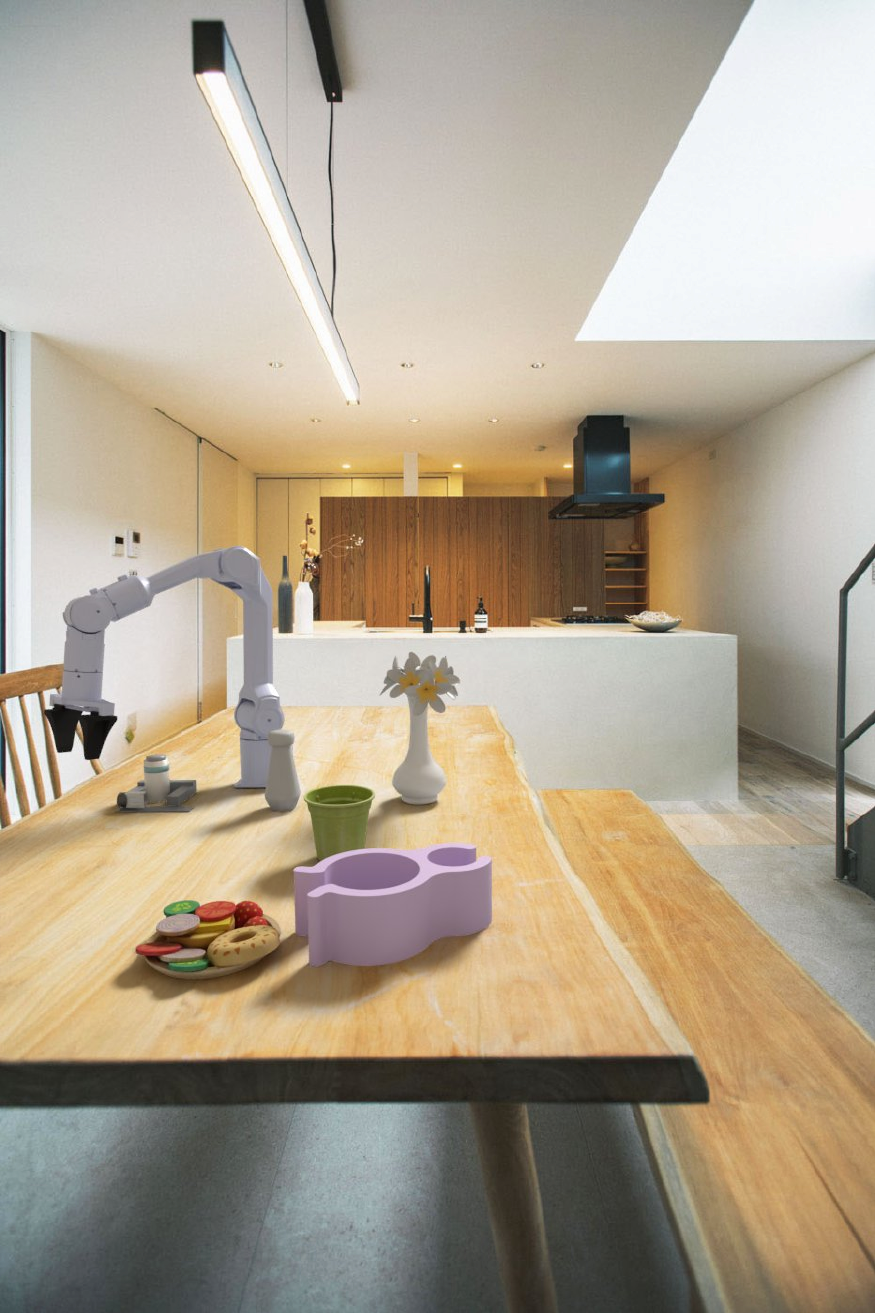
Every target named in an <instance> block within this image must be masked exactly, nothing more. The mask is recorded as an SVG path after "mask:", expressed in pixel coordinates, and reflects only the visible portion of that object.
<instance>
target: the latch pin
mask: <svg viewBox="0 0 875 1313" xmlns="http://www.w3.org/2000/svg"><path fill="white" fill-rule="evenodd" d="M116 804H117V807H118V808H122V807H126V808H145V807H146V806H148V802H147V791H136V792H128V791H125V792H123V791H121V792H119V793H118V795H117V797H116Z"/></svg>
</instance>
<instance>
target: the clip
mask: <svg viewBox="0 0 875 1313" xmlns="http://www.w3.org/2000/svg"><path fill="white" fill-rule="evenodd" d="M492 864H493V858H492V857H491V856H488V855H482V856H479V857H478V859H477V846H476V845H475V844H470V843H462V842H444V843H437V844H432V845H428V846H426V847H421V848H417V849H398V848H387V847H386V848H385V847H374V848H373V847H371V848H370V847H369V848H364V849H359V850H352V851H347V852H343V853H339V854H336V855H333V856H330V857H328V858H326V859H324V860H322V861H319V862H317V863H316V864H315V865H314V866H303V865H301V866H296V867H295V868H294V869H293V889H294V890H293V891H294V893H293V894H294V897H293V898H294V924H295V925H294V928H295V929H294V931H295V932H294V933H295V935H296V936H301V937H308V938H307V939H308V964H309V966H311V967H315V968H317V967H318V968H319V967H322V966H323V965H324V964H326V963H327V962H331V961H333V962H336V963H340V964H345V965H349V966H359V967H360V966H362V967H365V966H366V967H374V966H384V965H390V964H395V963H399V962H402V961H405V960H407V959H410V958H412V957H414V956H417V955H418V954H420V953H421V952H423V951H424V950H426V949H427V948H428V947H429V946H430V945H431V944H432V943H433V942H435V941H437V940H439V939H443V938H447V937H462V936H470V935H473V934H476V933H479V932H482V931H484V930H485V929H487V928H488V927H489V926H490V925H491V924H492V922H493V865H492Z"/></svg>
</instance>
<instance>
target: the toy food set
mask: <svg viewBox="0 0 875 1313" xmlns="http://www.w3.org/2000/svg"><path fill="white" fill-rule="evenodd" d="M162 912H163V914H164V915H163V916H165V918H163V919H161V920H159V921H158V922H157V923H156V926H155V933H153V934H152V935H151V936H150V937H149V938H148V939H147V940H146V942H145V943H142V944H138V945H137V946H136V947H135V954H137V955H140V956H143V958H144V959H145V961H146V963H147V964H148V965H149V966H150V967H152V968H153V969H154V970H156V971H158V972H159V973H161V974H162V975H166V976H168V977H172V978H174V979H175V978H176V979H181V980H182V979H183V980H202V979H203V980H205V979H206V980H207V979H213V978H219V977H223V976H228V975H230V974H231V975H232V974H234V973H237V972H240V971H242V970H245V969H247V968H250V967H251V966H253V965H254V964H255V965H256V964H257V963H258V962H259V961H261V960H262V959H264V958H265V956H267V955H268V954H270V953H272V952H273V951H275V950H276V949H278V947H279V945H280V943H281V939H280V937H281V934H282V933H281V932H282V931H281V929H282V928H281V926H280V924H279V922H278V921H277V920H276V919H274V917H272V916H270V915H268V914H265V913H264V911H263V909H262V907H261V906H260V905H259V904H257V903H256V902H254V901H251V900H241V901H240V902H238V903H237V904H236V903H235V901H234V900H233V901H226V900H216V901H211V902H207V903H204V904H202V905H200V903H199V901H196V900H191V899H188V900H187V899H186V900H179V901H175V902H172V903H169V904H168V905H166V906H165V907H164V908H163V911H162Z"/></svg>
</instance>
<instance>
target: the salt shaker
mask: <svg viewBox="0 0 875 1313" xmlns="http://www.w3.org/2000/svg"><path fill="white" fill-rule="evenodd" d="M294 742H295V733H294V732H293V731H292V730H290V729H285V728H282V729H280V730H274V731H271V732H270V733H269V734H268V745H270V746H272V749H271V757H270V764H269V771H268V778H267V784H266V787H265V791H264V798H265V801H266V803H267V804H268V806H269V808H270V809H271V811H272V812H277V813H284V812H290V811H293V810H294V809H296V807H297V804H298V801H299V799H300V797H301V793H302V791H301V786H300V782H299V781H300V780H299V777H298V772H297V768H296V764H295V759H294V752H293V753H292V748H291V745H292V744H293V745H294Z"/></svg>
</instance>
